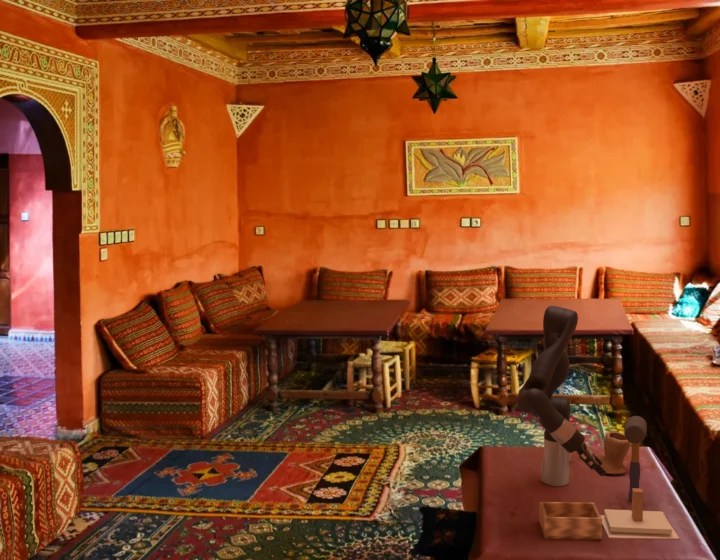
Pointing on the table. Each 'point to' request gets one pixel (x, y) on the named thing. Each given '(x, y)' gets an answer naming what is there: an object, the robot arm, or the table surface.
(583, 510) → the wooden box
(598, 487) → the table surface
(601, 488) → the table surface
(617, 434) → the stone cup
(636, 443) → the rubber mallet
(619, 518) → the lid
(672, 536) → the mat
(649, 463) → the table surface
